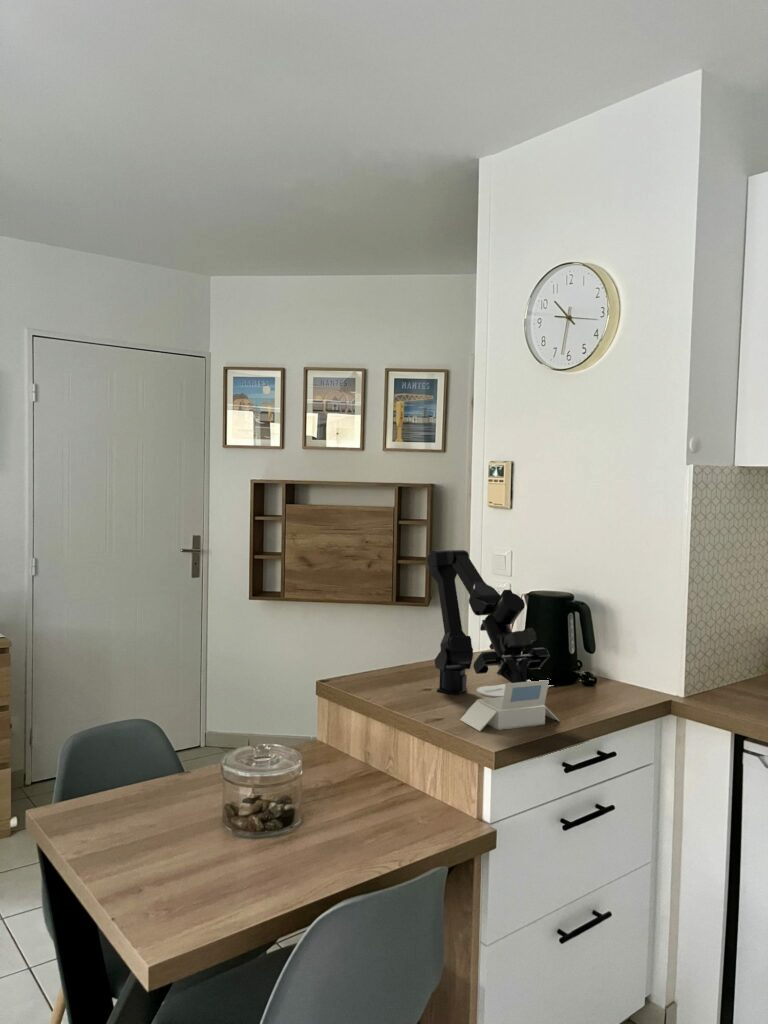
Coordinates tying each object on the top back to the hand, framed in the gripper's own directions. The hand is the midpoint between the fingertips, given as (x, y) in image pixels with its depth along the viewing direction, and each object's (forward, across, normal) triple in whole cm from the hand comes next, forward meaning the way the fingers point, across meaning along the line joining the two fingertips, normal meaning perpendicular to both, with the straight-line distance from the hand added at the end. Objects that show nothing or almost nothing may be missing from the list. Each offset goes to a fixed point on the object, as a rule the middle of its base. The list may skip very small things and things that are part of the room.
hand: (525, 691), depth 182 cm
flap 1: (+1, -9, +9) cm, 13 cm away
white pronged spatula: (-15, +20, +28) cm, 38 cm away
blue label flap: (0, 0, 0) cm, 1 cm away
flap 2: (+1, +9, +9) cm, 13 cm away
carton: (+2, 0, +10) cm, 10 cm away
